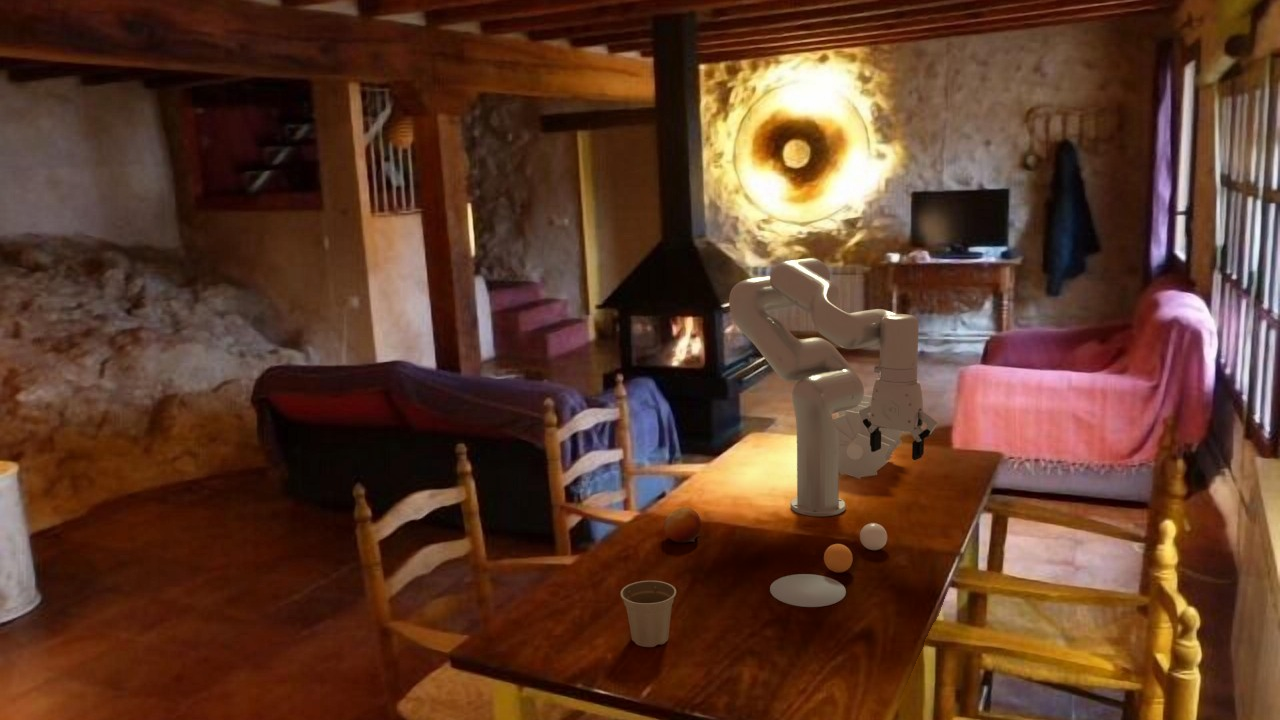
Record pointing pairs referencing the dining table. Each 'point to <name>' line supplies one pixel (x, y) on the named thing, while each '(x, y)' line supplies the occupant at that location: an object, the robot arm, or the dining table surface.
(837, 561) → the orange ball
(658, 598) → the flower pot
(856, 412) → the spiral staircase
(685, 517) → the fruit
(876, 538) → the cue ball
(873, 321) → the robot arm
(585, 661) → the dining table surface
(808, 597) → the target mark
